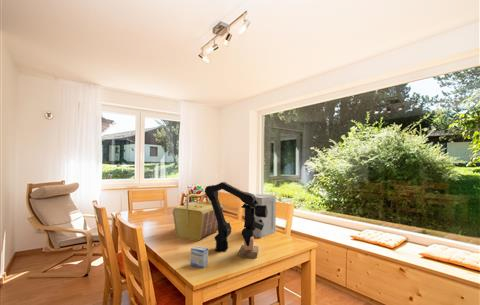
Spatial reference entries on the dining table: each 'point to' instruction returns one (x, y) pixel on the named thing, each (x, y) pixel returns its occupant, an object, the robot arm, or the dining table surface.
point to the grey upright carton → (271, 217)
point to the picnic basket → (195, 219)
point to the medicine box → (199, 256)
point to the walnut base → (248, 252)
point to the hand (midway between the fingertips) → (249, 243)
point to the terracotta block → (251, 244)
